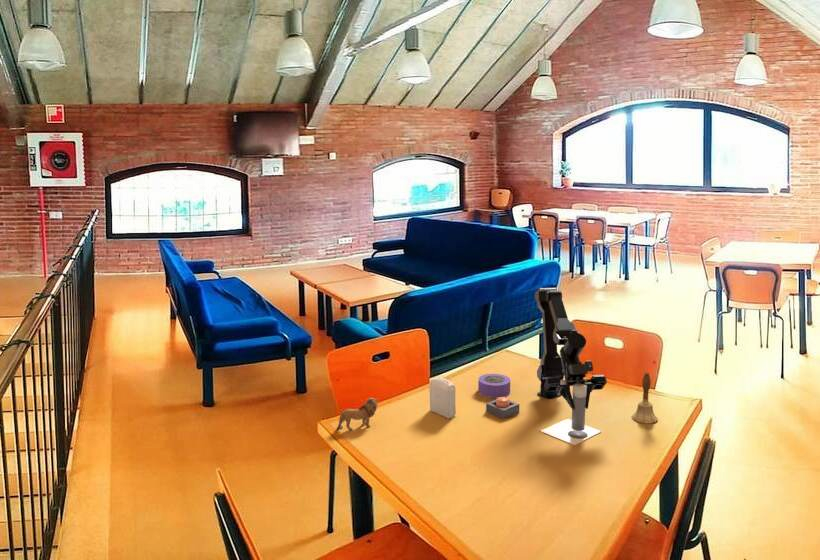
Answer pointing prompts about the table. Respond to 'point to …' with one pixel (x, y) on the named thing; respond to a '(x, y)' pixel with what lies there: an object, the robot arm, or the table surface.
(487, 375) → the tape roll
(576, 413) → the marker
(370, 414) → the lion figurine
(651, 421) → the hand bell
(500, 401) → the button
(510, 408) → the button box
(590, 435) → the notepad
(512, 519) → the table surface
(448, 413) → the photo printer
